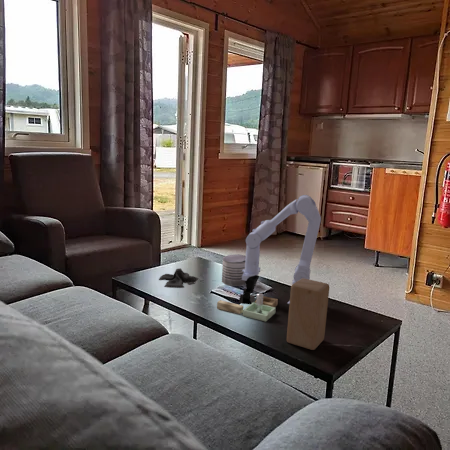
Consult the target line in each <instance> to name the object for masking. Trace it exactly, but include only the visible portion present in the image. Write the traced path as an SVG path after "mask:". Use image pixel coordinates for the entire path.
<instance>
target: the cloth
mask: <svg viewBox="0 0 450 450" xmlns="http://www.w3.org/2000/svg"><path fill="white" fill-rule="evenodd" d="M198 280H199V278H198V277H196V276H194V275H193V276H192V275H190V274H189V273H188V272H185V271H183V270H182V268H176V269H175V271H174V273H173V274H170V273H165V274H162V275H160V277H159V278H158V281H166V283H165V285H164V286H163V287H164V288H177V289H178V288H179V289H181V288H182V289H183V288H185V286H184V283H185V284H186V283H187V285H188V286H191V285H195V284H196V281H198Z"/></svg>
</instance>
